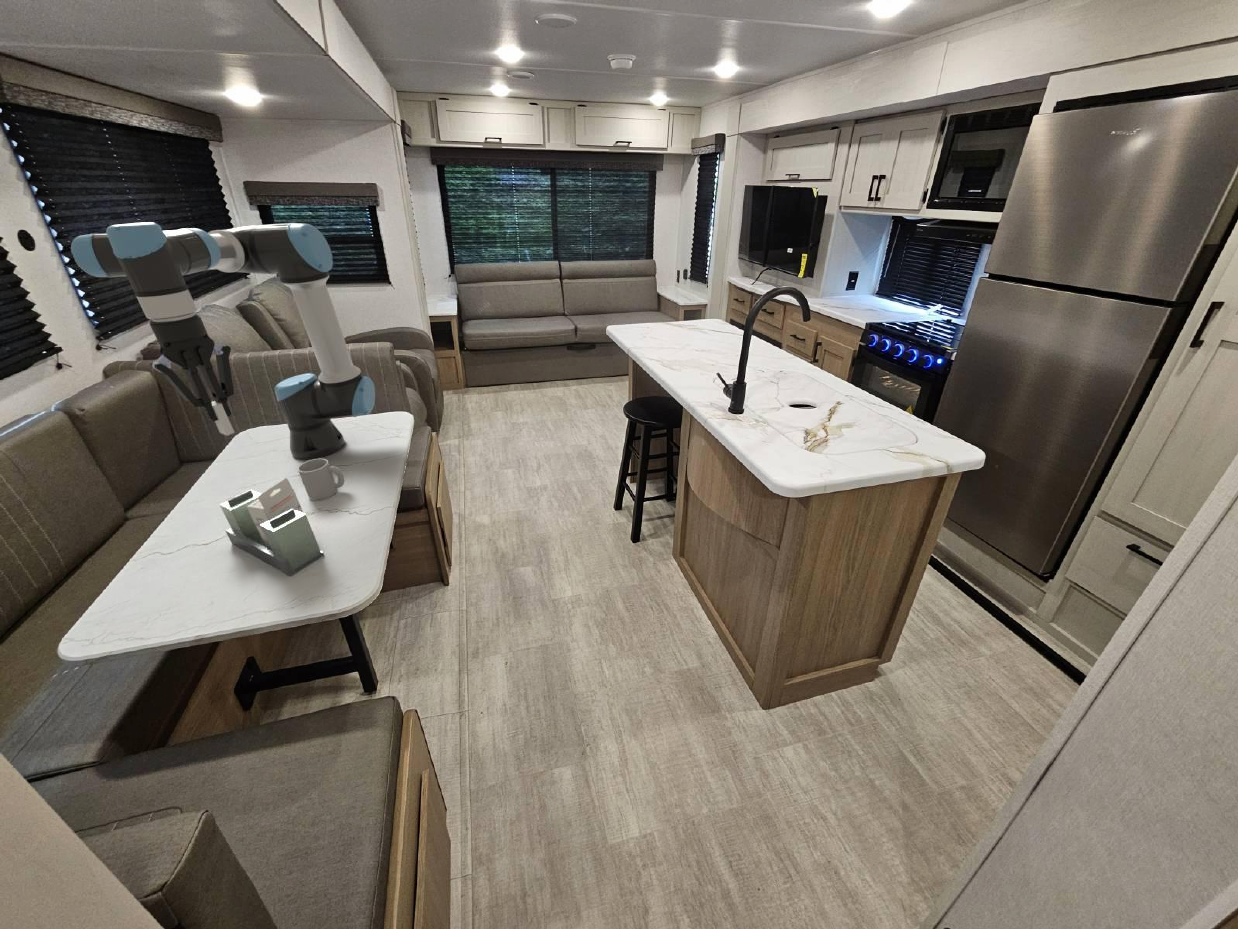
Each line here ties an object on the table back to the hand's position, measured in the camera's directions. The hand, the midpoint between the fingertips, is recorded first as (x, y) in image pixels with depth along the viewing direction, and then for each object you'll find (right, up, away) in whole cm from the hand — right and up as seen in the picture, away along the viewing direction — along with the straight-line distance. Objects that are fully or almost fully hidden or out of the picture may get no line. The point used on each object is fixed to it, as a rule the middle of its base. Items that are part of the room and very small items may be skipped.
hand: (227, 432), depth 107 cm
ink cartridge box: (+2, -24, +16) cm, 29 cm away
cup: (+1, -14, +35) cm, 38 cm away
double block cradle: (+1, -26, +14) cm, 30 cm away
